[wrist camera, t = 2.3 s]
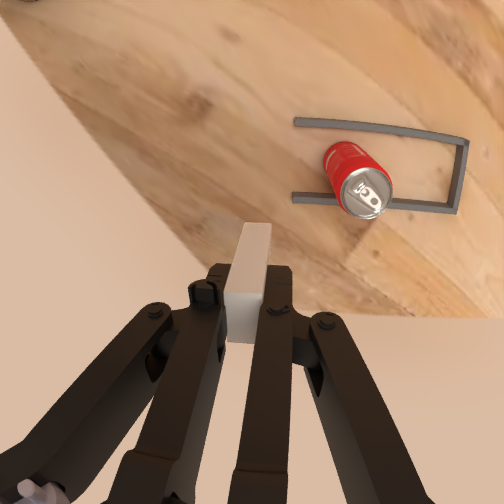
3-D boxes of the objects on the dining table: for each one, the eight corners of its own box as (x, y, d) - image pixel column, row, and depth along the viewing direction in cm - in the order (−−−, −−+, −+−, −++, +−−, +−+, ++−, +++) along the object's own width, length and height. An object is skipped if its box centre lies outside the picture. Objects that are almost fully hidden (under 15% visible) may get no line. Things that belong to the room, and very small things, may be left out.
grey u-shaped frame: (292, 197, 39) (292, 203, 38) (294, 117, 34) (295, 118, 33) (450, 209, 37) (456, 214, 36) (462, 137, 32) (469, 140, 31)
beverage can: (342, 131, 34) (367, 152, 24) (373, 160, 36) (406, 193, 25) (313, 162, 37) (325, 195, 26) (344, 189, 38) (365, 232, 28)
